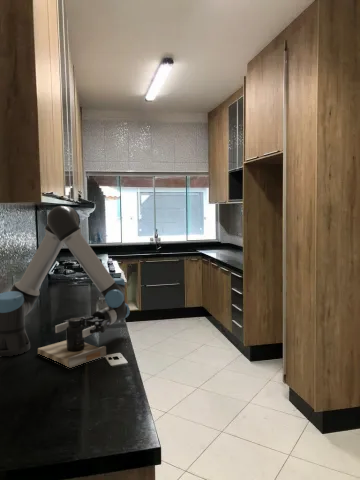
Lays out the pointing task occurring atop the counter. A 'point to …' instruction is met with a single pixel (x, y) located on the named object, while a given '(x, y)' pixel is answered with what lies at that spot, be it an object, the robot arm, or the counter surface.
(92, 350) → the shelf board
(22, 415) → the counter surface
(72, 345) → the supplement bottle
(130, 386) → the counter surface
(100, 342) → the counter surface
